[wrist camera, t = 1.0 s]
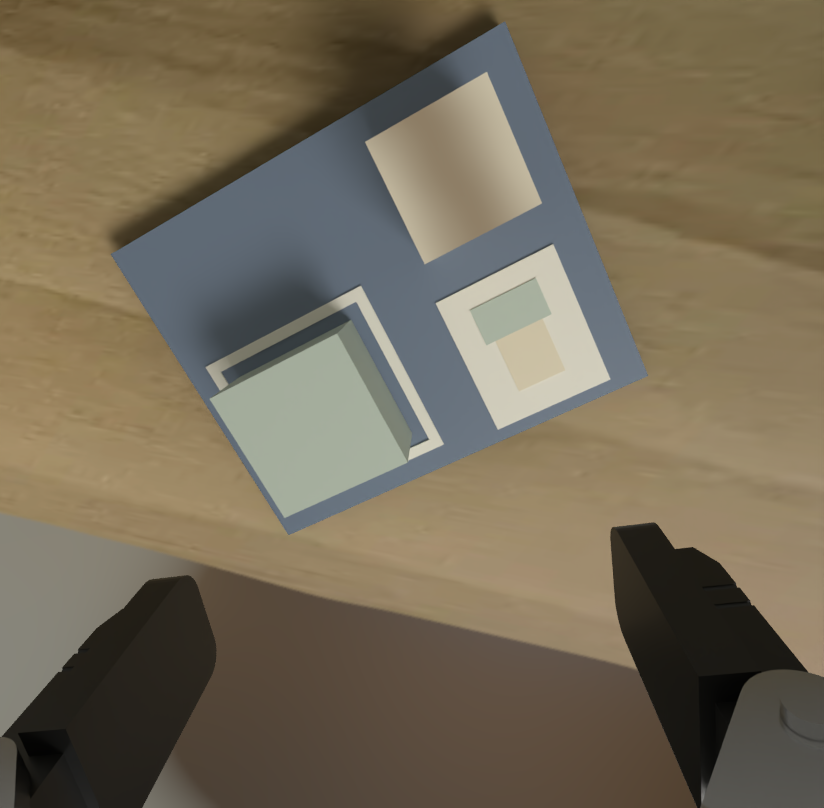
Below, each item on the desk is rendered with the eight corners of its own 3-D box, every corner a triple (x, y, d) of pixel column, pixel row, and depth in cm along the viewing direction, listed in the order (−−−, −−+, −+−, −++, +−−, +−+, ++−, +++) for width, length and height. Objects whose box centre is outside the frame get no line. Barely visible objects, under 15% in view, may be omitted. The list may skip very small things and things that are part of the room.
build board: (502, 30, 26) (505, 20, 25) (640, 370, 30) (649, 376, 29) (123, 253, 30) (108, 254, 29) (293, 524, 34) (287, 536, 33)
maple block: (477, 106, 26) (486, 71, 20) (521, 208, 27) (542, 203, 21) (381, 160, 27) (365, 142, 21) (428, 257, 28) (424, 264, 22)
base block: (351, 319, 29) (337, 333, 25) (412, 433, 31) (407, 462, 27) (238, 377, 30) (209, 398, 27) (303, 483, 32) (284, 517, 28)
